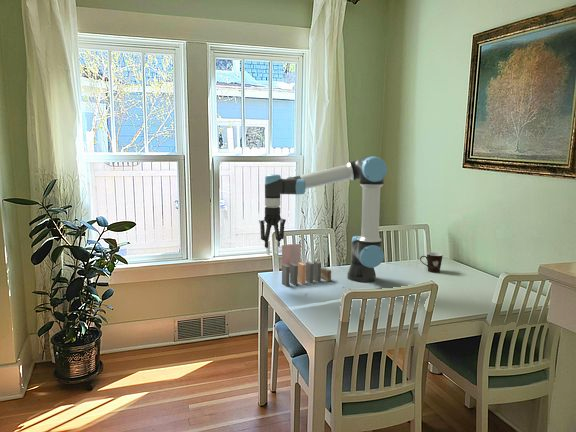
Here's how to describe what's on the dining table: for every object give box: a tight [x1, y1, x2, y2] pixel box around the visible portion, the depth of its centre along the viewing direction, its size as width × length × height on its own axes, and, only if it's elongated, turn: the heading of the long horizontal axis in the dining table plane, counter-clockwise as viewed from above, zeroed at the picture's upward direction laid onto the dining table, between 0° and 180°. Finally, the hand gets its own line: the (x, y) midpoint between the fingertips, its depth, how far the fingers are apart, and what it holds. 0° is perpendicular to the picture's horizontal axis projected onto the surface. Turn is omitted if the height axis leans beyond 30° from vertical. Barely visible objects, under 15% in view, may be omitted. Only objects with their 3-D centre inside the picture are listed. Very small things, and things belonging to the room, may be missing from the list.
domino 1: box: [281, 264, 290, 287], centre depth 218 cm, size 2×5×10 cm, turn 25°
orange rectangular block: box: [297, 262, 306, 285], centre depth 222 cm, size 2×5×10 cm, turn 26°
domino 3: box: [305, 261, 314, 284], centre depth 224 cm, size 2×5×10 cm, turn 25°
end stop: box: [321, 266, 332, 283], centre depth 228 cm, size 2×7×6 cm, turn 25°
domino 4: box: [312, 260, 322, 283], centre depth 226 cm, size 2×5×10 cm, turn 25°
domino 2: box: [289, 263, 299, 286], centre depth 220 cm, size 2×5×10 cm, turn 26°
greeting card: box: [281, 243, 302, 266], centre depth 243 cm, size 11×7×15 cm, turn 113°
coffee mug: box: [419, 252, 444, 274], centre depth 249 cm, size 12×9×10 cm
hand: (272, 253), depth 213 cm, fingers open, 4 cm apart
